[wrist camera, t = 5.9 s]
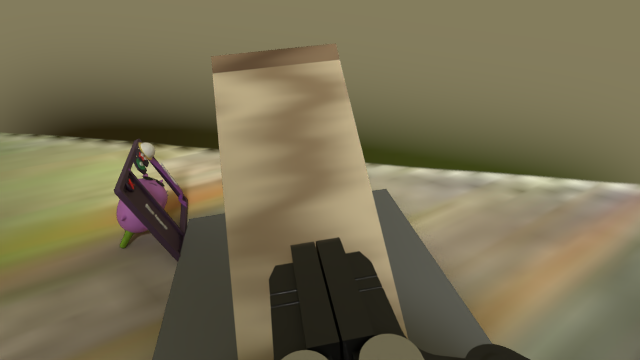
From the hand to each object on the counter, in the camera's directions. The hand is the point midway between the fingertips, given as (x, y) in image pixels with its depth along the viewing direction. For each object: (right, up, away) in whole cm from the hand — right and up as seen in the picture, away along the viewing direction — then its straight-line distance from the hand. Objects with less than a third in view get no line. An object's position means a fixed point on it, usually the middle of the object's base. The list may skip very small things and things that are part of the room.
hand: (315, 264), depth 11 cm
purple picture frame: (-12, -2, +17) cm, 21 cm away
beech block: (+1, -6, +3) cm, 6 cm away
